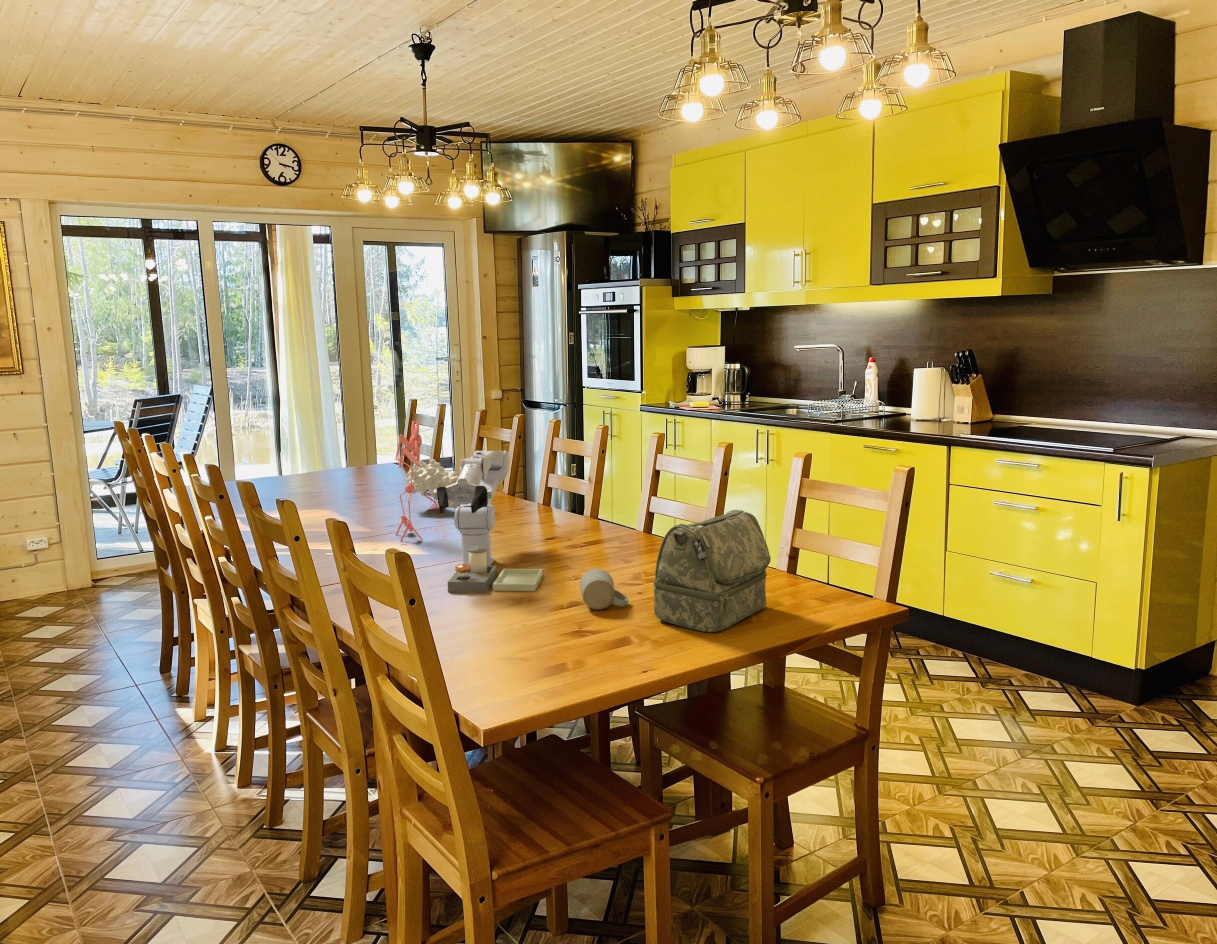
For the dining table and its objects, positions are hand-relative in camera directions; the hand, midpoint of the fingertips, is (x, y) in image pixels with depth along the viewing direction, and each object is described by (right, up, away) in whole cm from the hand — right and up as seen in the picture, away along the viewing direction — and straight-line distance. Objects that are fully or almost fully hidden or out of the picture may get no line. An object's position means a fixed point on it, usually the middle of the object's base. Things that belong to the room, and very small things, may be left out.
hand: (456, 509), depth 214 cm
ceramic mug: (+35, -21, -12) cm, 43 cm away
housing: (+3, -18, +6) cm, 20 cm away
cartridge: (+4, -18, +9) cm, 21 cm away
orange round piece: (+1, -17, +2) cm, 17 cm away
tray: (+14, -18, +6) cm, 24 cm away
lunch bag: (+58, -22, -20) cm, 66 cm away
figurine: (-21, -11, +58) cm, 62 cm away
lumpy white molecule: (-21, -5, +97) cm, 100 cm away
